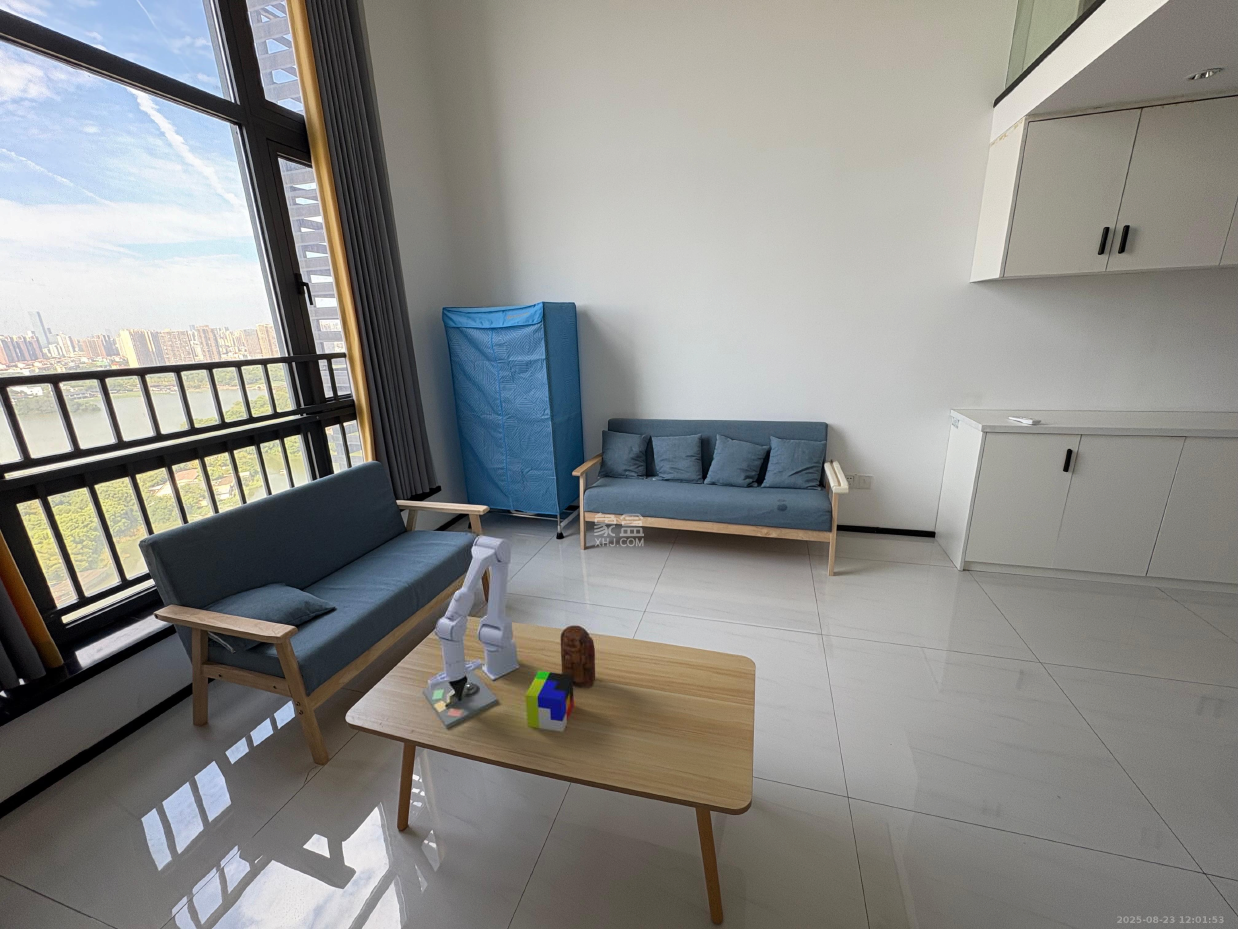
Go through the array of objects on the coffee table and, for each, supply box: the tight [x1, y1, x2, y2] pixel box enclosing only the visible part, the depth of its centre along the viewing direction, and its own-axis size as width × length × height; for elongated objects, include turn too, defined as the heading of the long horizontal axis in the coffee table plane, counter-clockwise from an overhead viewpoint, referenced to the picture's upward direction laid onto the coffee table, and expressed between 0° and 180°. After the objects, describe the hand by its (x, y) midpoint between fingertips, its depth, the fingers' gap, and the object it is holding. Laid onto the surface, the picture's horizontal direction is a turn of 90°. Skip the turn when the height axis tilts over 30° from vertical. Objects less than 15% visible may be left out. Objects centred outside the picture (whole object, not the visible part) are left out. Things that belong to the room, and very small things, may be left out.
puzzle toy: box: [525, 670, 575, 733], centre depth 135 cm, size 10×10×10 cm
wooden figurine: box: [560, 625, 596, 689], centre depth 148 cm, size 12×6×18 cm, turn 72°
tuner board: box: [422, 670, 498, 729], centre depth 143 cm, size 15×18×1 cm
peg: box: [445, 683, 477, 707], centre depth 142 cm, size 10×4×3 cm, turn 146°
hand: (458, 699), depth 139 cm, fingers closed, pressing on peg
